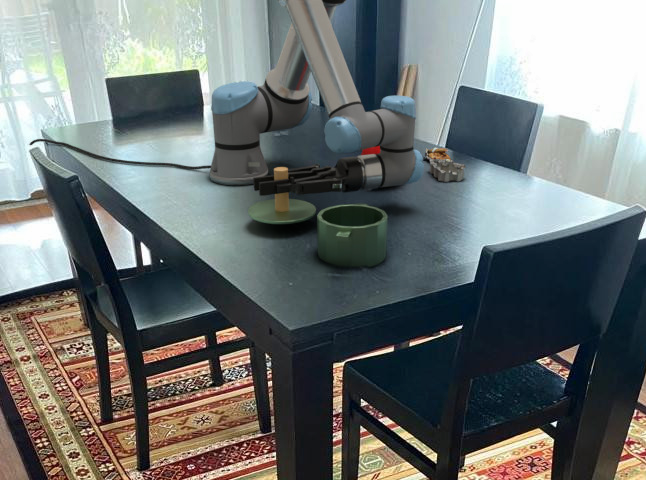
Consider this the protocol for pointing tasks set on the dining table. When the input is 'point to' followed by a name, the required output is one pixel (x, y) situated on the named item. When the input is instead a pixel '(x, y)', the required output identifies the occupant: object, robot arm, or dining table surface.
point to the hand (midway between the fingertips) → (257, 186)
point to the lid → (281, 206)
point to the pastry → (437, 154)
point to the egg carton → (446, 170)
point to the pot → (352, 235)
